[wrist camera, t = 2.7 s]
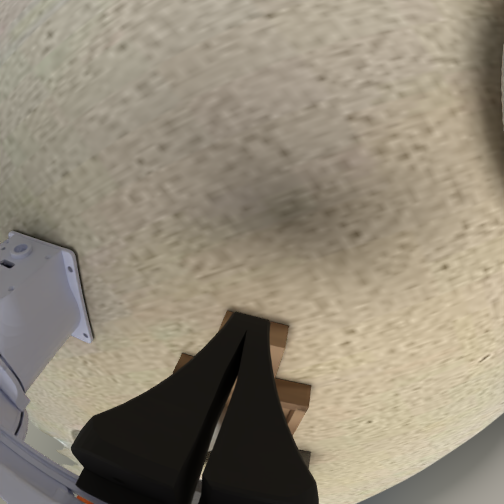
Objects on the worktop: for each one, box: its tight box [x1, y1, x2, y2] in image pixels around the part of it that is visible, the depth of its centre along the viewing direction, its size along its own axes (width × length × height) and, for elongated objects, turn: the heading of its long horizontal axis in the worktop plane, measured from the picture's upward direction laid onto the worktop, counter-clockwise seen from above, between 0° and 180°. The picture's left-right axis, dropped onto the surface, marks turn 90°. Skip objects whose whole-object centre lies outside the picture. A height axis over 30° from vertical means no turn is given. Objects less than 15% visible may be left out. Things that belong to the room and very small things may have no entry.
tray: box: [173, 311, 311, 451], centre depth 22 cm, size 14×10×4 cm
